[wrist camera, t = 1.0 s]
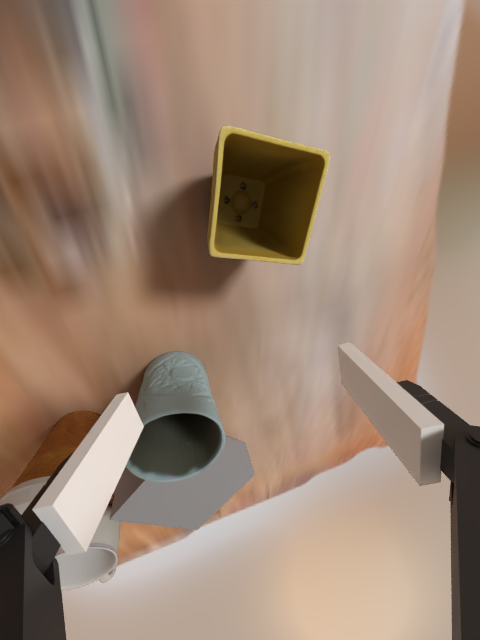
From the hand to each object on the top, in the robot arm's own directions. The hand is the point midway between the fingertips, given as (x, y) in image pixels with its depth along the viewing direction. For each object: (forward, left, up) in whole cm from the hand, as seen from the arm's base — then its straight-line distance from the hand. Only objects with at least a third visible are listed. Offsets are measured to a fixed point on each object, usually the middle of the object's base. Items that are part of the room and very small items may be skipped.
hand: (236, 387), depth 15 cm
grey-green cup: (+4, -12, -18) cm, 22 cm away
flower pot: (-3, +11, -18) cm, 21 cm away
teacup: (+10, -46, -18) cm, 50 cm away
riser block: (+16, -27, -18) cm, 36 cm away
